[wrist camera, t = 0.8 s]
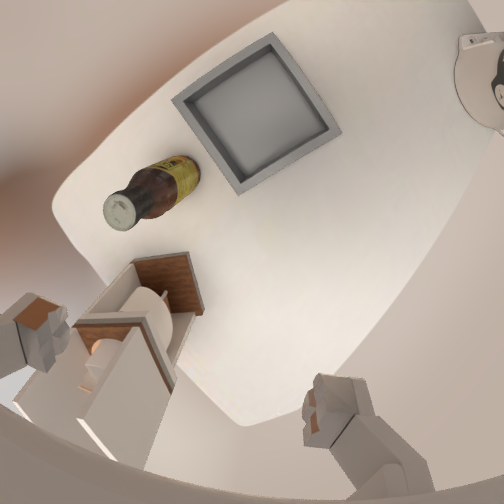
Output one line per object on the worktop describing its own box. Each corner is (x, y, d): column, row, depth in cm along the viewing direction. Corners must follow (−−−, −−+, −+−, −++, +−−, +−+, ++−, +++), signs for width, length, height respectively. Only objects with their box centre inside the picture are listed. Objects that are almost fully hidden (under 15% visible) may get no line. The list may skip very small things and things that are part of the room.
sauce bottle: (192, 148, 46) (135, 168, 28) (207, 185, 48) (161, 227, 30) (155, 164, 47) (86, 195, 29) (171, 200, 49) (111, 248, 31)
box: (274, 42, 38) (272, 31, 33) (335, 131, 43) (342, 133, 37) (184, 101, 43) (170, 99, 38) (243, 186, 48) (238, 196, 42)
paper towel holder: (204, 309, 57) (138, 483, 25) (152, 312, 59) (66, 463, 27) (188, 251, 53) (83, 419, 21) (134, 259, 54) (12, 400, 22)
